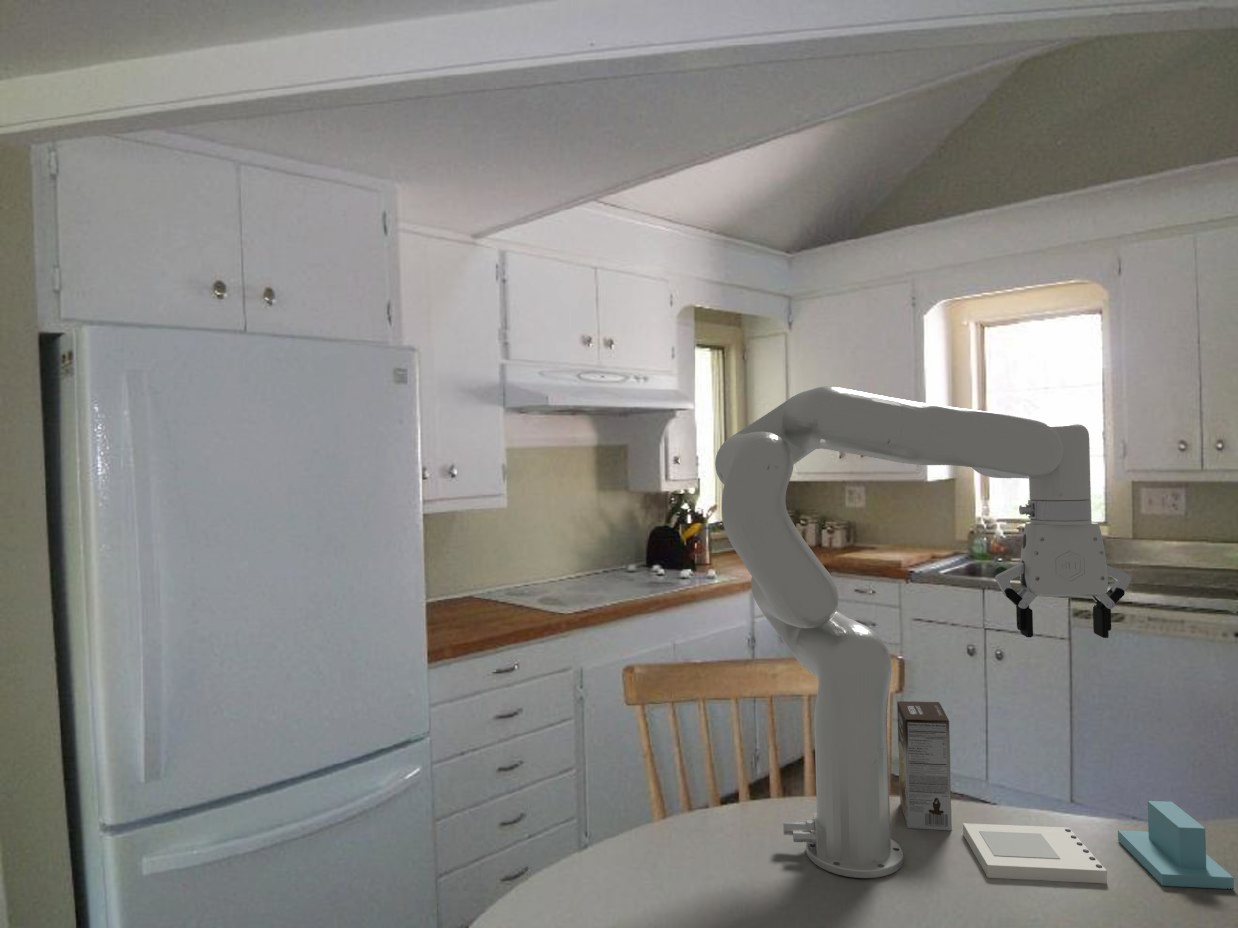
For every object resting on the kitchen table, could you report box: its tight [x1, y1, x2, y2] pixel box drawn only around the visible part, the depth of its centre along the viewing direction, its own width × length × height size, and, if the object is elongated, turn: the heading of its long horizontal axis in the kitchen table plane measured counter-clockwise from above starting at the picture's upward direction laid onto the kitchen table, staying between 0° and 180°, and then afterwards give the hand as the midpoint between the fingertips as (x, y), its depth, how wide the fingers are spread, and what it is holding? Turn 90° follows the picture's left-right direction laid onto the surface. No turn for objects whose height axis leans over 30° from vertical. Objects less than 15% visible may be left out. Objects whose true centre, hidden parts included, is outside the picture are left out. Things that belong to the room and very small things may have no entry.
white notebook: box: [962, 822, 1108, 884], centre depth 108 cm, size 14×12×2 cm
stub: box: [1117, 800, 1235, 890], centre depth 105 cm, size 8×12×6 cm, turn 171°
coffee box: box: [896, 700, 953, 831], centre depth 121 cm, size 9×6×16 cm
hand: (1063, 635), depth 113 cm, fingers open, 9 cm apart
